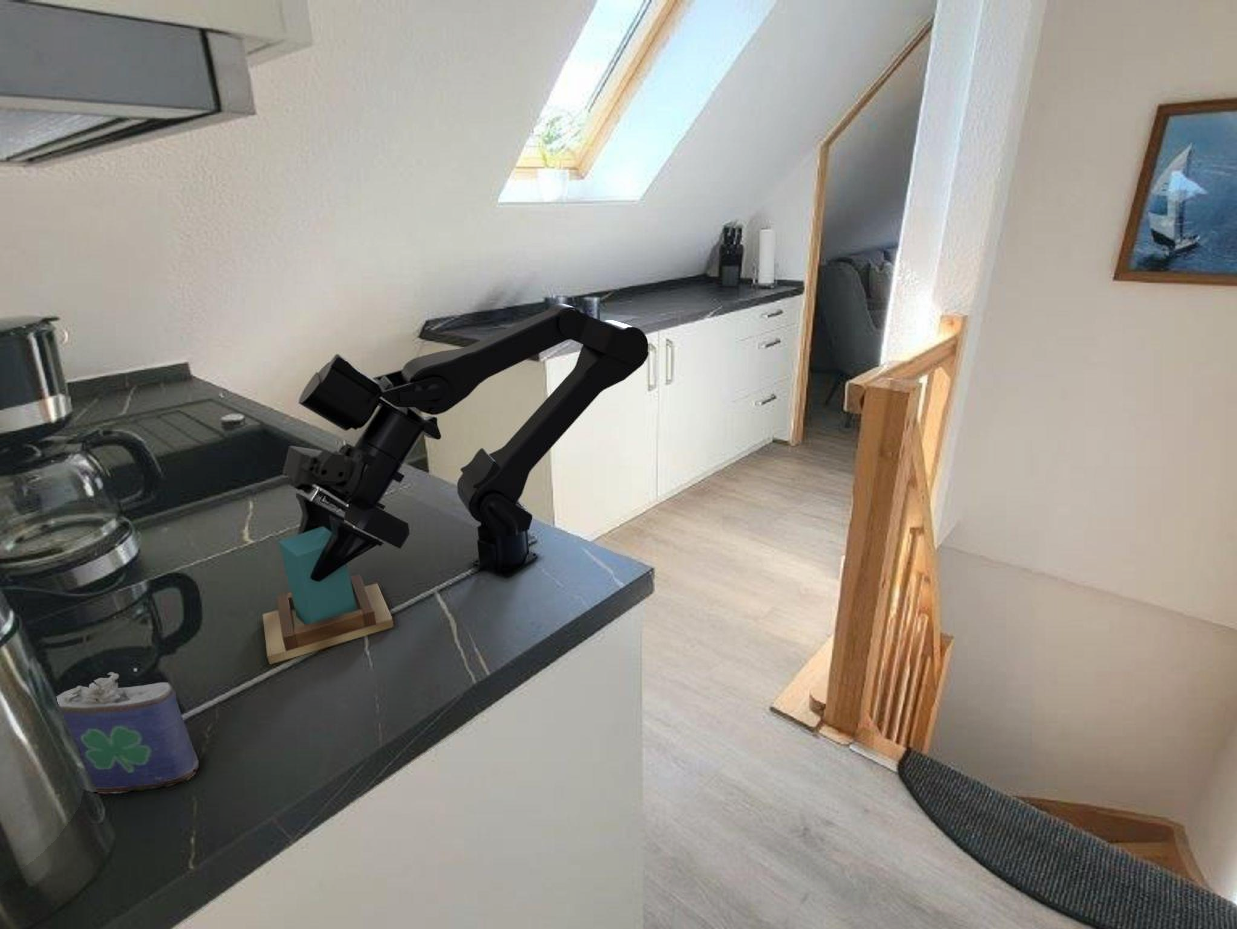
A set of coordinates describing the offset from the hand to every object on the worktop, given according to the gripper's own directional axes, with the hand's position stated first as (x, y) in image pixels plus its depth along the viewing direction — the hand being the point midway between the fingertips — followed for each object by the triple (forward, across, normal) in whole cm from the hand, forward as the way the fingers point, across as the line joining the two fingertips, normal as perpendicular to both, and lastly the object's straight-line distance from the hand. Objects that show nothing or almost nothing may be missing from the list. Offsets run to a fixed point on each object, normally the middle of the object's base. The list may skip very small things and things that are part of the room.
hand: (303, 571), depth 72 cm
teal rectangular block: (+4, 0, +6) cm, 7 cm away
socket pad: (+5, 0, +6) cm, 8 cm away
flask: (+19, +10, -8) cm, 23 cm away
